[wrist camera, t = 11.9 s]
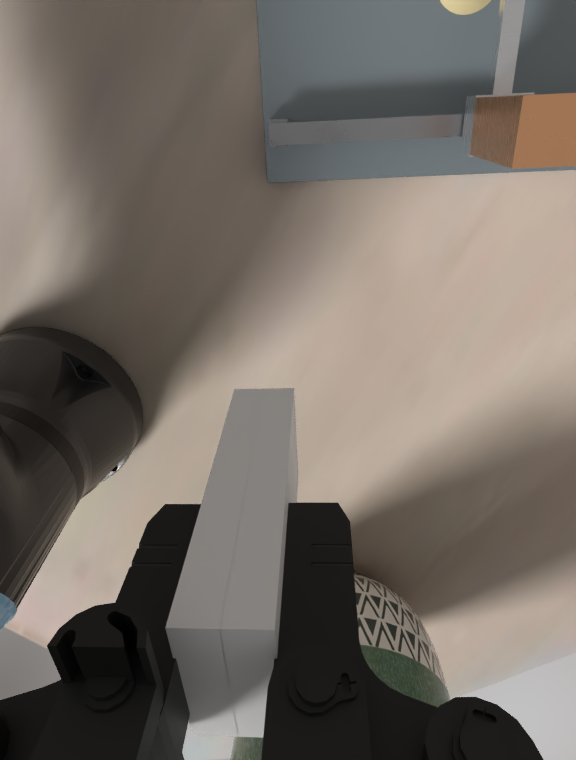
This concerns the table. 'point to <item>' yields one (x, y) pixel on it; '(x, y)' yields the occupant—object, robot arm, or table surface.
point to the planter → (384, 653)
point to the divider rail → (364, 129)
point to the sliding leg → (518, 111)
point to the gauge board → (397, 76)
